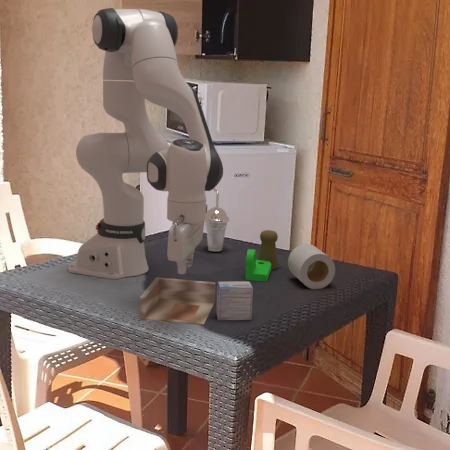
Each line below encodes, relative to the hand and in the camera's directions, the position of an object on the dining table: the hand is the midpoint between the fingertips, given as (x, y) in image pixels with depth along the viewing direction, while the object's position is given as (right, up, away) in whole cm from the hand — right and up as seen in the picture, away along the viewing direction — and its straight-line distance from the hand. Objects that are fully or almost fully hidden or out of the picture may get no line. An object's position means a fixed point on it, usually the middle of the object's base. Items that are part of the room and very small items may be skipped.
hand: (185, 269), depth 155 cm
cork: (+22, -2, +44) cm, 49 cm away
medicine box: (+11, -12, +2) cm, 17 cm away
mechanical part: (+19, -4, +36) cm, 41 cm away
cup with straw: (+6, +2, +60) cm, 60 cm away
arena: (-2, -11, +5) cm, 12 cm away
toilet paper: (+33, -6, +30) cm, 45 cm away
